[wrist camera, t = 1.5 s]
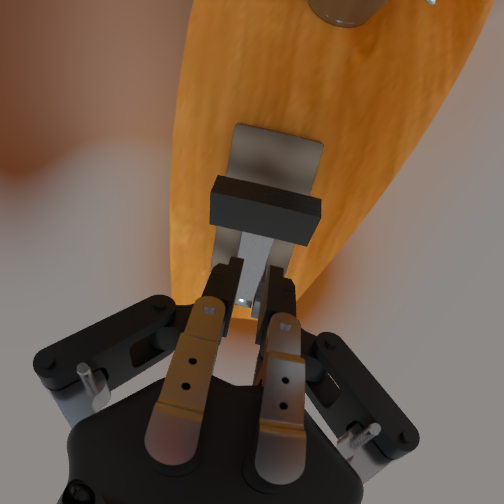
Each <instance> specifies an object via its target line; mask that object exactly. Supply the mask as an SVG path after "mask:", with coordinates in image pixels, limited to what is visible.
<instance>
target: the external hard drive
mask: <svg viewBox="0 0 504 504" xmlns="http://www.w3.org/2000/svg"><path fill="white" fill-rule="evenodd" d="M426 1H427V2H428V3H430V4H431V5H434V3H435V1H436V0H426Z"/></svg>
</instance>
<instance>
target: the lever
mask: <svg viewBox="0 0 504 504" xmlns="http://www.w3.org/2000/svg"><path fill="white" fill-rule="evenodd" d="M320 219H321V199H319V198H315V197H311V196H307V195H303V194H300V193H296V192H292V191H288V190H284V189H279V188H275V187H271V186H267V185H262V184H258V183H254V182H249V181H244V180H240V179H235V178H230V177H225V176H220V175H218V176H217V178H216V181H215V183H214V185H213V188H212V190H211V195H210V224H211V225H216V226H220V227H225V228H229V229H234V230H238V231H242V236H241V242H240V248H239V249H238V253H237V257H238V258H242V259H244V264H243V268H242V273H241V277H240V282H239V286H238V290H237V295H236V299H235V303H234V304H235V305H239V306H244V307H248V308H251V305H252V301H253V299H254V296H255V293H256V290H257V287H258V284H259V282H260V281H261V278H262V275H263V272H264V270H265V266H266V261H267V258H268V255H269V252H270V249H271V246H272V243H273V240H274V239H277V240H281V241H286V242H290V243H294V244H298V245H302V246H307V245H308V243H309V241H310V239H311V237H312V235H313V233H314V231H315V229H316V227H317V225H318V223H319V221H320Z"/></svg>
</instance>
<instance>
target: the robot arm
mask: <svg viewBox="0 0 504 504" xmlns="http://www.w3.org/2000/svg"><path fill="white" fill-rule="evenodd" d="M308 1H309V4H310V6H311V8H312V9H313V11H314V12H315V13H316V14H317V15H318V16H319V17H320V18H322V19H323V20H325V21H326V22H328V23H330V24H333V25H336V26H340V27H356V26H359V25H361V24H363V23H365V22H366V21H367V20H368V19H369V18H370V17H371V16H372V15H373V14H375V13H376V12H377V11H378V10H379V9H380V8H381V7H382V6H383V5H384V4H385V3H387V2H388V1H389V0H308ZM243 264H244V259H242V258H238V257H234V256H231V258H230V261H229V264H228V265H227V264H222V263H218V264H217V265H216V266H214V267H213V269H212V271H211V274H210V276H209V279H208V281H207V284H206V286H205V289H204V291H203V294H202V296H201V297H200V298H198V299H197V300H196V301H195V303H194V304H191V305H176V304H175V302H174V300H173V299H172V298H170V297H168V296H165V295H153V296H151V297H149V298H147V299H144V300H142V301H140V302H138V303H136V304H134V305H132V306H130V307H128V308H126V309H124V310H122V311H120V312H118V313H116V314H114V315H111V316H110V317H107V318H105V319H103V320H101V321H99V322H97V323H95V324H93V325H91V326H89V327H87V328H85V329H83V330H81V331H79V332H77V333H75V334H72V335H70V336H68V337H66V338H64V339H62V340H60V341H58V342H56V343H54V344H52V345H50V346H48V347H46V348H44V349H42V350H40V351H39V352H38V353H37V354H36V356H35V357H34V360H33V367H34V370H35V372H36V373H37V375H38V376H39V378H40V379H41V382H42V384H43V385H44V386H45V388H46V390H47V391H48V392H49V394H50V395H51V396H52V398H53V399H54V400H55V401H56V402H57V404H58V406H59V408H60V409H61V411H62V413H63V415H64V416H65V418H66V419H67V421H68V423H69V424H70V426H71V428H72V430H71V432H70V434H69V437H68V441H67V452H68V458H69V480H68V483H67V486H66V488H65V490H64V492H63V493H62V495H61V497H60V499H59V500H58V502H57V504H361V500H362V498H363V484H364V483H365V482H367V481H368V480H369V479H371V478H372V477H373V476H374V475H376V474H377V473H378V472H379V471H380V470H382V469H383V468H384V467H386V466H387V465H388V464H390V463H392V462H394V461H396V460H397V459H399V458H401V457H403V456H404V455H406V454H408V453H409V452H411V451H413V450H414V449H415V448H416V447H417V446H418V444H419V439H420V437H419V433H418V430H417V429H416V427H415V426H414V425H413V424H412V423H411V421H410V420H409V419H408V418H407V417H406V415H405V414H404V413H403V412H402V410H401V409H400V408H399V407H398V406H397V404H396V403H395V402H394V401H393V400H392V398H391V397H390V396H389V395H388V394H387V392H386V391H385V390H384V389H383V387H382V386H381V385H380V384H379V383H378V382H377V380H376V379H375V378H374V377H373V376H372V374H371V373H370V372H369V371H368V370H367V369H366V367H365V366H364V365H363V364H362V362H361V361H360V360H359V359H358V358H357V357H356V355H355V354H354V353H353V352H352V351H351V349H350V348H349V347H348V346H347V345H346V344H345V342H344V341H343V340H342V339H341V338H340V337H339V336H338V335H336V334H334V333H331V332H322V333H320V334H319V335H318V336H315V335H313V334H310V333H308V332H306V331H305V330H303V329H302V328H301V324H300V322H299V320H298V319H297V318H296V299H295V298H296V295H295V285H294V283H293V282H292V280H291V279H288V278H284V277H283V275H284V268H282V267H277V266H273V265H270V266H269V269H268V272H267V276H266V279H265V283H264V286H263V290H262V294H261V300H260V308H259V317H258V324H257V333H256V341H255V344H259V345H260V350H259V353H258V356H257V361H256V367H255V373H254V379H253V385H252V386H235V385H232V384H230V383H228V382H226V381H223V380H221V379H219V378H217V377H215V376H213V370H214V365H215V361H216V356H217V350H218V346H219V345H220V342H221V338H222V337H226V336H227V332H228V328H229V323H230V320H231V315H232V311H233V307H234V303H235V299H236V295H237V290H238V286H239V282H240V277H241V273H242V268H243ZM174 350H175V351H174ZM173 351H174V354H173V357H172V360H171V363H170V366H169V369H168V372H167V375H166V377H165V378H162V379H160V380H157V381H156V382H154V383H152V384H150V385H148V386H147V387H145V388H143V389H141V390H139V391H137V392H136V393H134V394H132V395H130V396H128V397H127V398H124V399H122V400H120V401H118V402H117V403H115V404H113V405H111V406H109V407H107V408H105V409H103V410H101V409H102V408H103V407H104V406H105V405H106V404H107V403H108V402H109V400H110V398H111V391H112V390H113V389H115V388H117V387H118V386H120V385H122V384H123V383H125V382H126V381H128V380H130V379H131V378H133V377H135V376H136V375H138V374H140V373H141V372H143V371H145V370H146V369H148V368H149V367H151V366H153V365H154V364H156V363H157V362H159V361H161V360H162V359H164V358H165V357H167V356H168V355H170V354H171V353H172V352H173ZM328 374H329V375H330V376H331V377H332V378H333V380H334V381H335V382H336V384H337V385H338V386H339V388H340V389H339V388H338V386H337V385H336V384H335V382H334V381H333V380H332V378H331V377H330V376H329V375H328ZM305 393H306V394H307V396H308V397H309V398H310V400H311V401H312V403H313V404H314V406H315V407H316V409H317V410H318V411H319V413H320V414H321V416H322V417H323V419H324V420H325V421H326V423H327V424H328V426H329V427H330V429H331V430H332V431H333V433H334V434H335V435H336V437H337V438H338V441H337V448H336V447H335V446H334V445H333V444H332V442H331V441H330V440H329V439H328V438H327V436H326V435H325V434H324V433H323V432H322V430H321V429H320V428H319V426H318V425H317V424H316V423H315V421H314V420H313V419H312V417H311V416H310V415H309V414H308V412H307V411H306V410H305V409H304V403H305Z"/></svg>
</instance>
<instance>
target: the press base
mask: <svg viewBox="0 0 504 504" xmlns="http://www.w3.org/2000/svg"><path fill="white" fill-rule="evenodd" d="M323 146H324V145H323V144H322V143H320V142H316V141H312V140H309V139H305V138H301V137H297V136H294V135H290V134H285V133H281V132H277V131H273V130H268V129H264V128H259V127H254V126H249V125H244V124H236V125H235V130H234V135H233V140H232V145H231V151H230V156H229V161H228V167H227V172H226V177H230V178H235V179H240V180H244V181H249V182H254V183H258V184H262V185H267V186H271V187H275V188H279V189H284V190H288V191H292V192H296V193H300V194H303V195H307V196H310V192H311V189H312V185H313V182H314V178H315V175H316V171H317V168H318V164H319V161H320V157H321V153H322V150H323ZM241 236H242V231H238V230H234V229H229V228H225V227H220V226H217V231H216V237H215V244H214V250H213V257H212V264H211V271H212V269H213V267H214V266H216V265H217V264H218V263H222V264H227V265H228V264H229V261H230V258H231V256H234V257H237V253H238V249H239V248H240V242H241ZM294 245H295V244H294V243H290V242H286V241H281V240H277V239H274V240H273V243H272V246H271V249H270V252H269V255H268V258H267V261H266V266H265V270H264V272H263V275H262V278H261V281H260V282H259V284H258V287H257V290H256V293H255V296H254V300H253V307H252V313H251V317H252V318H257V319H258V317H259V308H260V300H261V294H262V290H263V286H264V283H265V279H266V276H267V272H268V269H269V266H270V265H273V266H277V267H282V268H284V275H283V277H284V276H285V273H286V270H287V267H288V264H289V261H290V257H291V254H292V251H293V248H294ZM211 271H210V272H211Z"/></svg>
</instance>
